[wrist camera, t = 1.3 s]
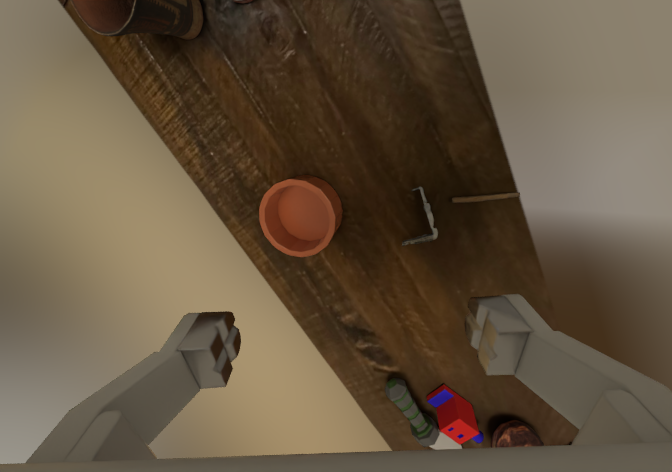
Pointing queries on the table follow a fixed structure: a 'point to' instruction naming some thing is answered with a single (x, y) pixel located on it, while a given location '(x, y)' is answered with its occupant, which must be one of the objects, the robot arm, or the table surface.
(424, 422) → the knife
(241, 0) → the supplement bottle
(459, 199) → the stick
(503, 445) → the pastry
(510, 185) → the table surface
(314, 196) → the holder
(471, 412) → the toy building block
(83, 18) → the cup
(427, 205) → the l-shaped bracket
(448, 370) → the table surface
